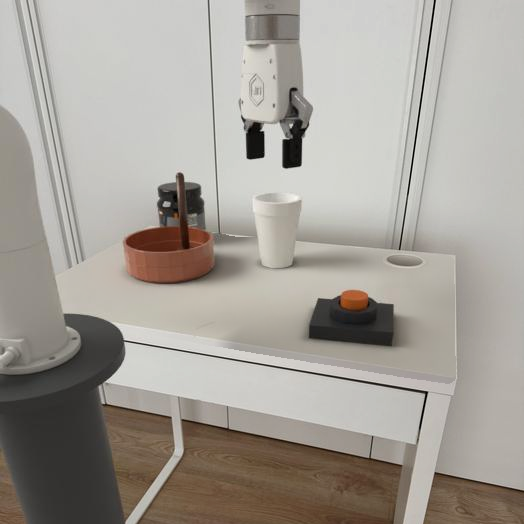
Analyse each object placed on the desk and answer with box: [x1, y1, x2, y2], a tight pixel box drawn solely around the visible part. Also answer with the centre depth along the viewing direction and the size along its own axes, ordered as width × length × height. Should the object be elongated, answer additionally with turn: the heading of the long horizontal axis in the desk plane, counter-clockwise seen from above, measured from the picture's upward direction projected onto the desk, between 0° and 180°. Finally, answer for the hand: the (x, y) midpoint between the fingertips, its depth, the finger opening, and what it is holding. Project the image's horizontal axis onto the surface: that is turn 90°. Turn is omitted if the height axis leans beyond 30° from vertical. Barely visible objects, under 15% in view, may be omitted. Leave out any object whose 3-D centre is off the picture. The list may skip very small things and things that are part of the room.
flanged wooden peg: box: [175, 171, 195, 251], centre depth 101 cm, size 4×4×16 cm
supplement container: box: [156, 181, 207, 230], centre depth 116 cm, size 10×10×12 cm
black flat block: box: [308, 294, 395, 347], centre depth 79 cm, size 10×12×4 cm
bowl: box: [122, 226, 216, 284], centre depth 102 cm, size 17×17×6 cm
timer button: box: [340, 289, 369, 310], centre depth 77 cm, size 4×4×2 cm
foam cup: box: [252, 191, 303, 269], centre depth 102 cm, size 10×9×13 cm
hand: (273, 162), depth 80 cm, fingers open, 9 cm apart
